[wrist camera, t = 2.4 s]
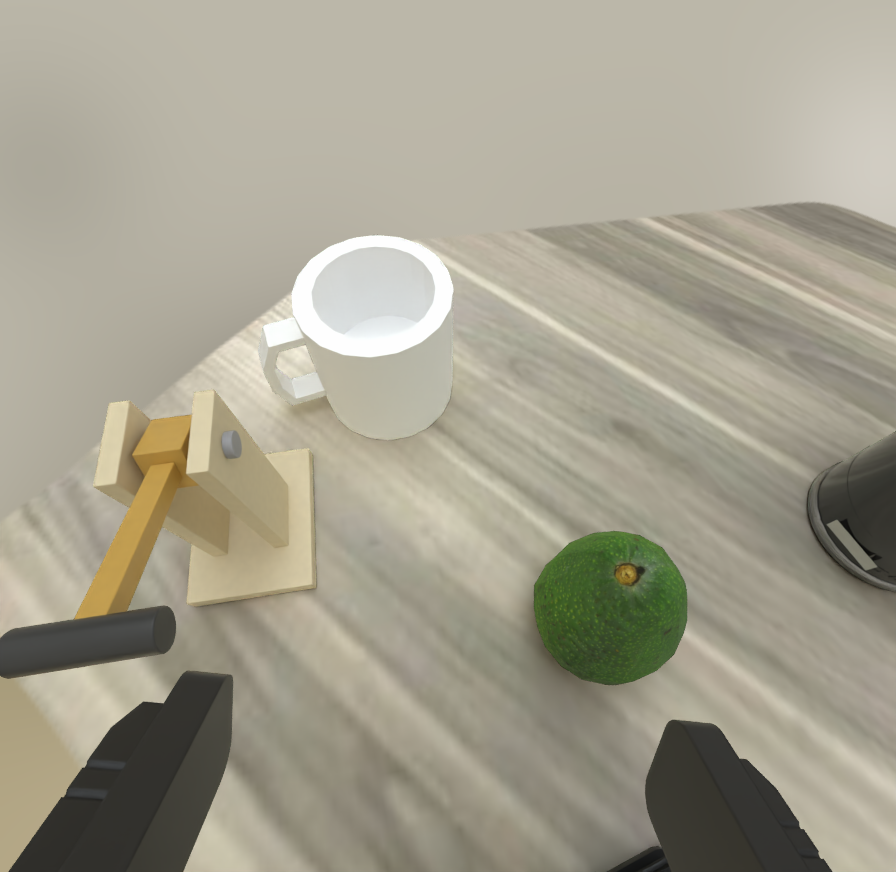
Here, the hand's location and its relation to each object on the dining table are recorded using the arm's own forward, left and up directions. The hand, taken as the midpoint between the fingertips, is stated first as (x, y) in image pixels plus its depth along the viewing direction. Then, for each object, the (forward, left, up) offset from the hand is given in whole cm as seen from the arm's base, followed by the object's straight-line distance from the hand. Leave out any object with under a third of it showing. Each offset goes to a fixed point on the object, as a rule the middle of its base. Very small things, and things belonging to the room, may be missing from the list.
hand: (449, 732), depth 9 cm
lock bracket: (0, -18, -24) cm, 29 cm away
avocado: (-10, +3, -24) cm, 26 cm away
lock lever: (+4, -14, -11) cm, 18 cm away
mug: (-13, -20, -24) cm, 34 cm away
